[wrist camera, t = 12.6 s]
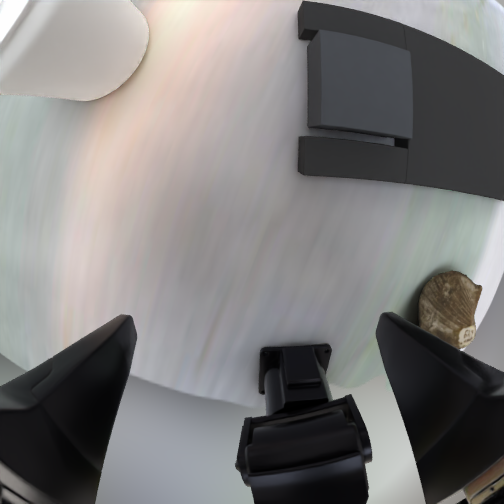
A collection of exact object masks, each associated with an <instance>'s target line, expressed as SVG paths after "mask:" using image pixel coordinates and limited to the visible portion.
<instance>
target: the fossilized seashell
mask: <svg viewBox="0 0 504 504" xmlns="http://www.w3.org/2000/svg"><path fill="white" fill-rule="evenodd" d="M481 291H482V286H481V285H476V284H475V283H473V282H472V281H471V280H470V279H469V278H468V277H467V275H464V274H462V273H461V272H458V271H448V272H445V273H440V274H438V275H436V276H434V277H433V278H432V279H431V280H430V281H428V282H427V284H426V285H425V286H424V288H423V290H422V292H421V295H420V298H419V303H418V311H419V313H418V321H419V325H418V327H420V328H422V329H424V330H426V331H427V332H429V333H431V334H433V335H434V336H436V337H438V338H440V339H442V340H443V341H445V342H447V343H449V344H451V345H452V346H454V347H456V348H458V349H461V348H464V347H466V346H468V345H469V344H470V343H471V342H472V341H473V340H474V337H475V332H476V325H475V321H474V314H475V310H476V308H477V303H478V301H479V298H480V295H481Z"/></svg>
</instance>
